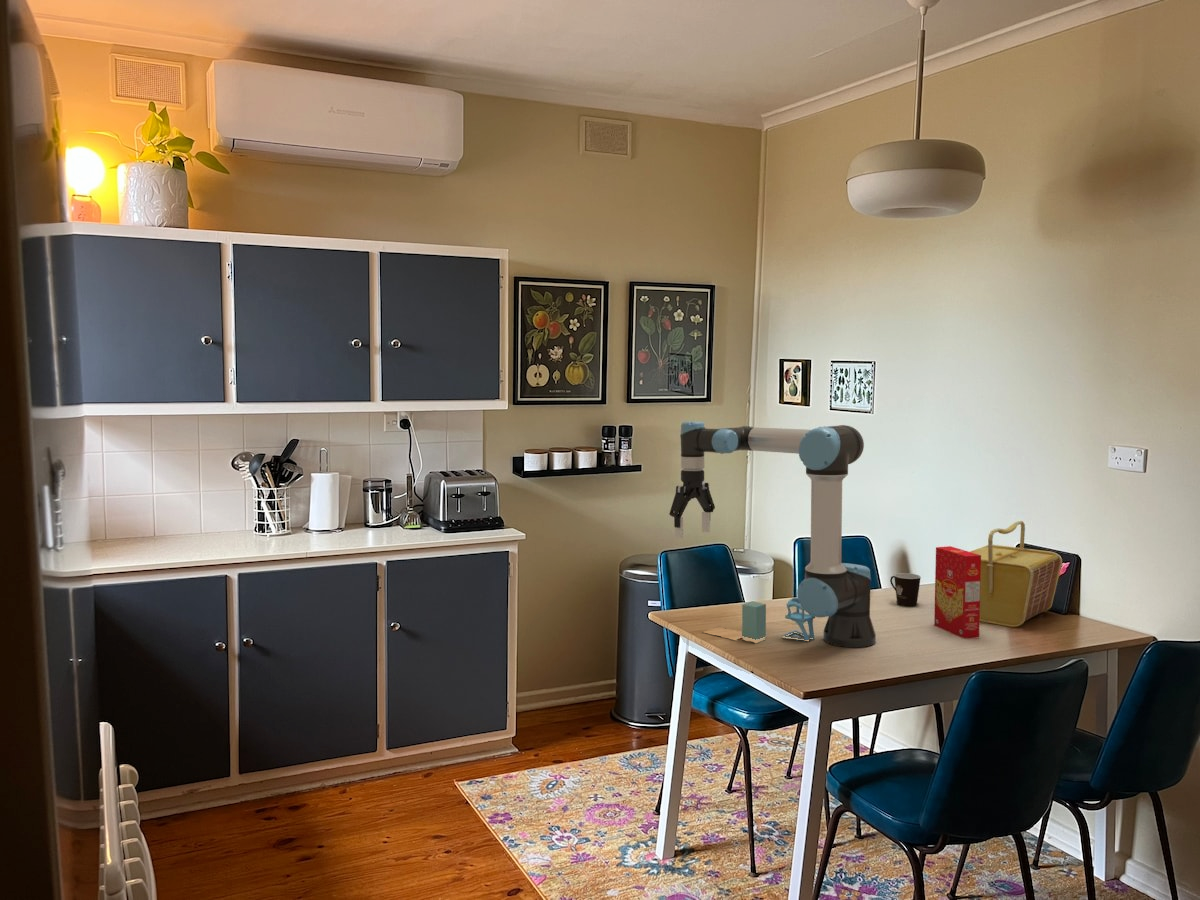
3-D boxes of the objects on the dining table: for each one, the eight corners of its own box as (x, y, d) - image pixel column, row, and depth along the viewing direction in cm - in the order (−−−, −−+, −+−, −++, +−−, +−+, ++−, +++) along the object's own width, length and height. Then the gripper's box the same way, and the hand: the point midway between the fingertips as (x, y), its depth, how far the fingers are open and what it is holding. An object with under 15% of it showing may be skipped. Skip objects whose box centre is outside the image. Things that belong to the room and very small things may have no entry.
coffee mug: (923, 607, 310) (924, 578, 309) (898, 607, 310) (898, 578, 309) (912, 599, 322) (912, 571, 321) (887, 599, 322) (888, 571, 321)
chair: (805, 644, 271) (805, 604, 270) (781, 638, 276) (781, 599, 275) (818, 638, 276) (819, 599, 275) (794, 633, 282) (795, 594, 281)
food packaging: (934, 625, 289) (935, 547, 286) (948, 624, 290) (950, 546, 288) (963, 638, 274) (965, 556, 272) (979, 637, 276) (981, 555, 274)
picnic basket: (982, 600, 318) (985, 515, 316) (1062, 613, 301) (1065, 523, 298) (947, 617, 298) (949, 526, 295) (1030, 632, 280) (1032, 535, 277)
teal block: (765, 640, 275) (765, 604, 274) (756, 643, 271) (756, 607, 270) (752, 636, 278) (752, 601, 277) (742, 640, 275) (742, 604, 274)
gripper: (707, 465, 306) (707, 528, 308) (658, 471, 288) (658, 538, 290) (725, 467, 301) (725, 530, 302) (676, 473, 283) (676, 541, 285)
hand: (692, 534), depth 296 cm, fingers open, 13 cm apart
